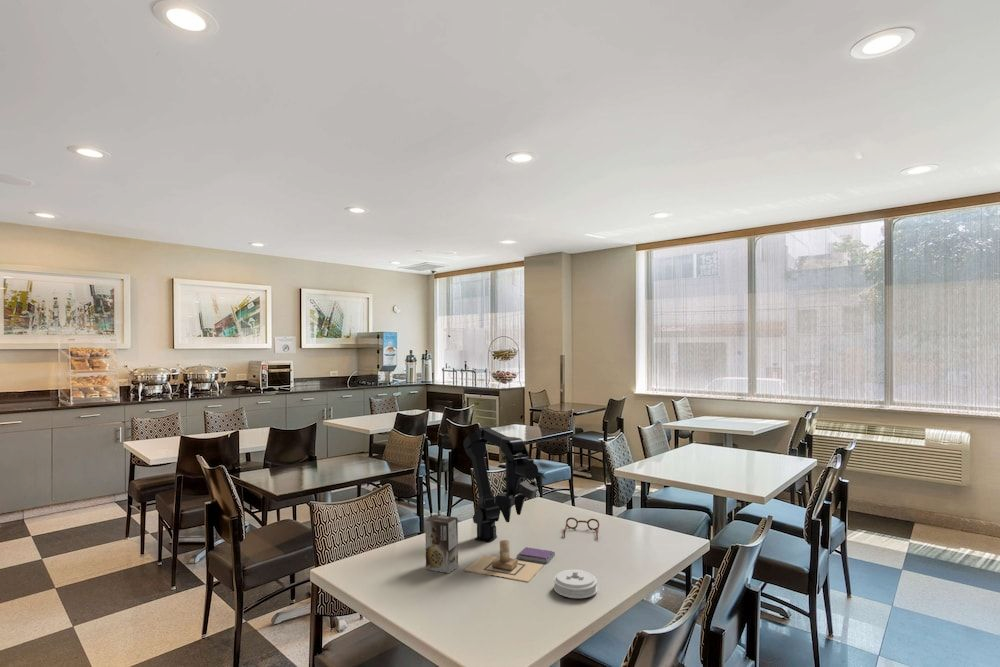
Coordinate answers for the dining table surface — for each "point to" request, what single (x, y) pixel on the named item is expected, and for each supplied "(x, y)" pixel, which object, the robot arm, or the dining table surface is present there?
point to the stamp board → (521, 572)
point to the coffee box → (441, 543)
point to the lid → (575, 584)
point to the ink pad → (536, 555)
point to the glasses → (581, 521)
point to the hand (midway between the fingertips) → (513, 518)
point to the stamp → (504, 558)
